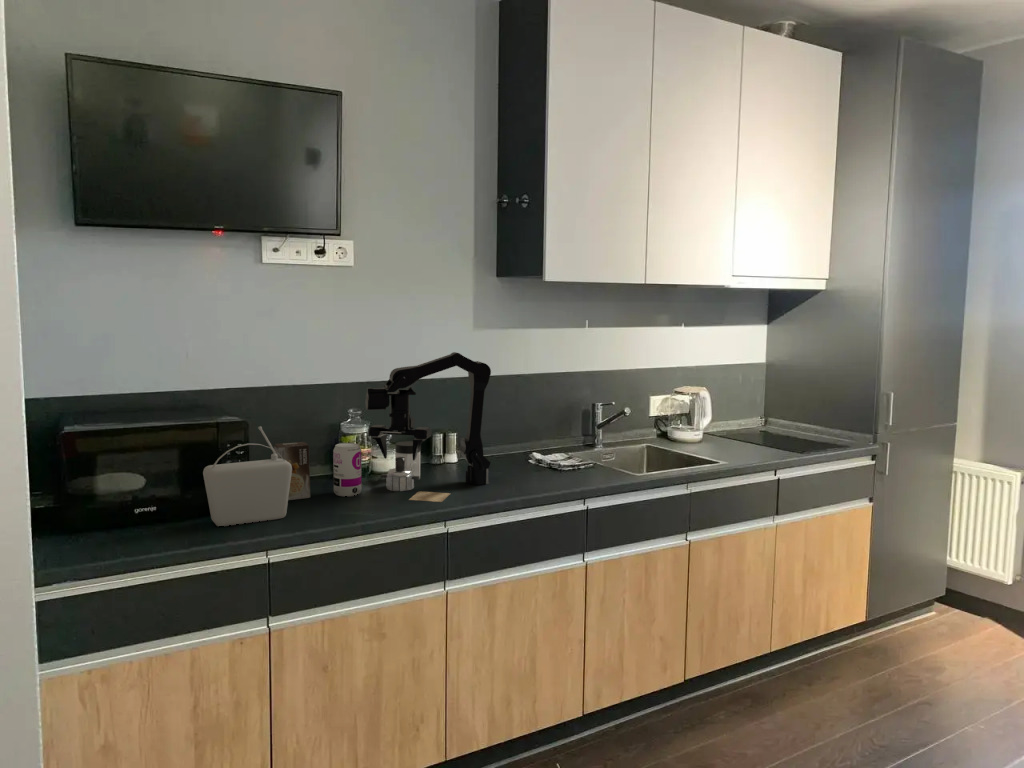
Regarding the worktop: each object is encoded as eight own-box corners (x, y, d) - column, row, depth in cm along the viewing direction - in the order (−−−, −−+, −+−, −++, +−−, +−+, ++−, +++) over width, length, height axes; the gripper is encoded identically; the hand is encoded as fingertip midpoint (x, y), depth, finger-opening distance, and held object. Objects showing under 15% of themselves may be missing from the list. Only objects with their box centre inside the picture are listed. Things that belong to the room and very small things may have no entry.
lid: (414, 472, 248) (414, 456, 247) (407, 477, 240) (407, 460, 240) (392, 471, 249) (392, 454, 248) (385, 476, 242) (385, 459, 241)
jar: (400, 483, 253) (400, 446, 252) (390, 478, 260) (390, 442, 259) (425, 480, 258) (426, 444, 257) (414, 475, 265) (414, 440, 264)
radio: (284, 510, 221) (283, 422, 218) (293, 517, 214) (292, 426, 211) (202, 521, 209) (199, 428, 206) (209, 529, 202) (206, 433, 199)
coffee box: (305, 493, 240) (305, 441, 238) (310, 498, 234) (310, 445, 232) (274, 496, 235) (273, 443, 233) (279, 501, 230) (278, 447, 228)
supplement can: (366, 491, 242) (366, 443, 241) (352, 498, 235) (352, 448, 233) (343, 489, 245) (342, 441, 243) (328, 495, 237) (328, 446, 236)
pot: (422, 488, 248) (422, 472, 248) (414, 494, 240) (414, 478, 239) (385, 485, 250) (385, 470, 250) (376, 492, 242) (376, 476, 242)
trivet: (450, 495, 239) (450, 493, 239) (441, 504, 230) (441, 501, 229) (418, 493, 241) (418, 491, 241) (408, 502, 231) (408, 499, 231)
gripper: (436, 407, 249) (436, 455, 250) (380, 404, 252) (380, 452, 254) (426, 412, 238) (425, 463, 239) (367, 409, 241) (367, 459, 243)
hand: (399, 459), depth 244 cm, fingers open, 9 cm apart
